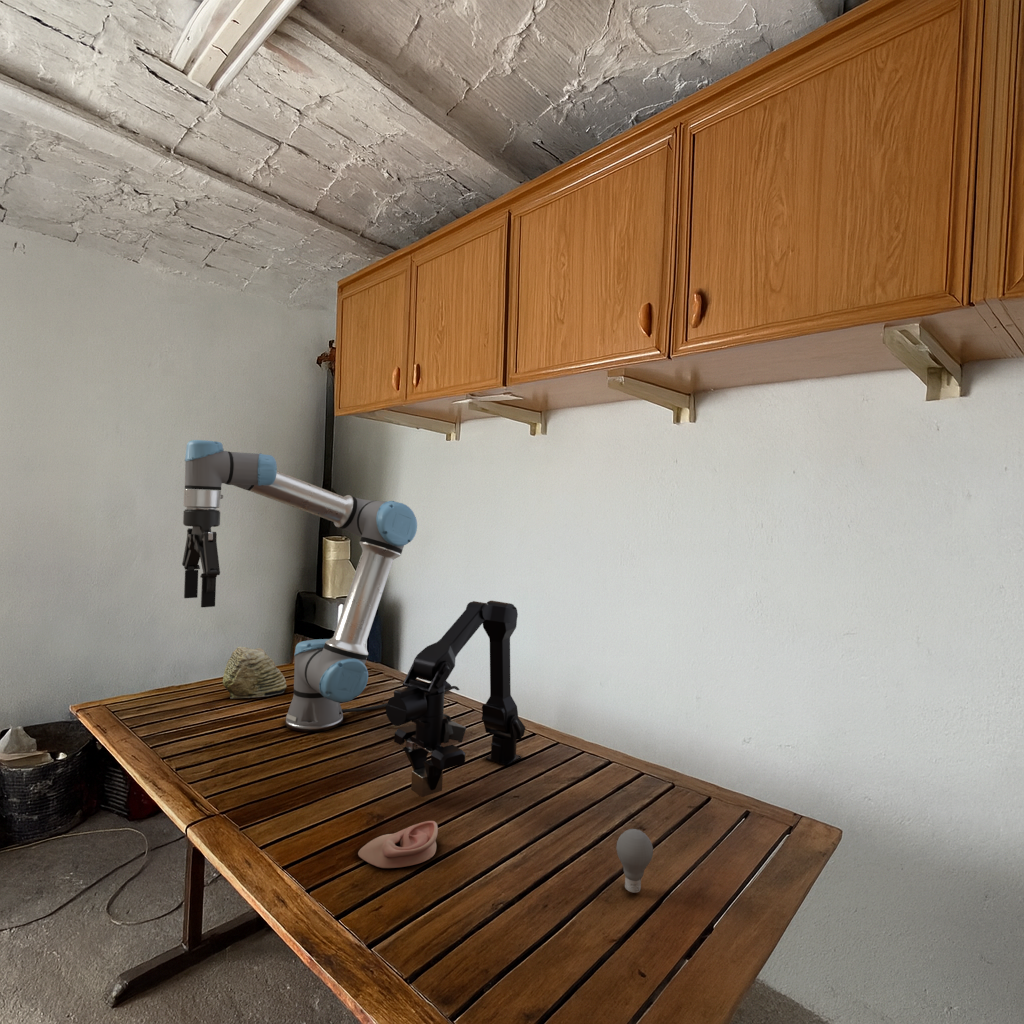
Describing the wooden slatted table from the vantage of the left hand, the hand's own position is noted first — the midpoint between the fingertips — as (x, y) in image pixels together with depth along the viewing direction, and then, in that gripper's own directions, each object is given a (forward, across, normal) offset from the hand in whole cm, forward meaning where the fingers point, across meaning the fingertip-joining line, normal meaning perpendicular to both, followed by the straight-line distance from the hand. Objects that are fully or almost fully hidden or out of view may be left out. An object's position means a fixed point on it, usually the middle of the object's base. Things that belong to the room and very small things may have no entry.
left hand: (199, 602), depth 144 cm
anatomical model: (+38, -57, -19) cm, 72 cm away
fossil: (+38, +45, -29) cm, 66 cm away
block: (+36, -44, -34) cm, 66 cm away
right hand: (+35, -44, -34) cm, 66 cm away
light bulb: (+38, -91, -44) cm, 108 cm away
